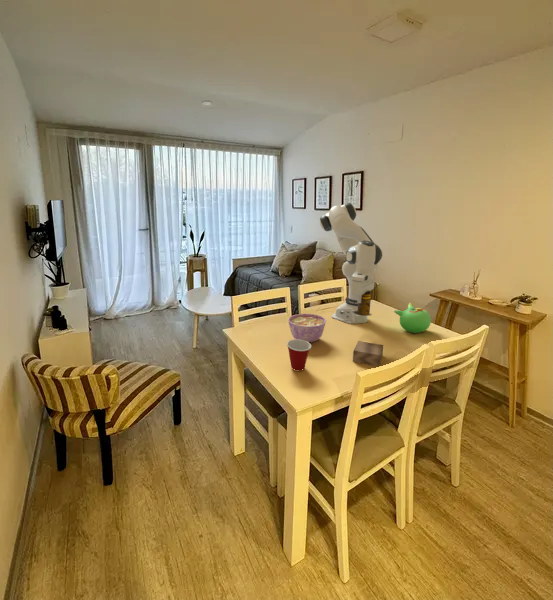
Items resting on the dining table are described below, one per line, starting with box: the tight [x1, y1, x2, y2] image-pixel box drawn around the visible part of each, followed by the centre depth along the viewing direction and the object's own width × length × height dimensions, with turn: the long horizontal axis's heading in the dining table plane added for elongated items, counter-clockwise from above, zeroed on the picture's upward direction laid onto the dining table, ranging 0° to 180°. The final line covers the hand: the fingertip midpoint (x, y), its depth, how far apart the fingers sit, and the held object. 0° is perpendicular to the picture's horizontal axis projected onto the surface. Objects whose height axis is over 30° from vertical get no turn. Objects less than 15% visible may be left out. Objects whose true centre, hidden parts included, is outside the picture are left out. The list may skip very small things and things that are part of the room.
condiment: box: [351, 290, 373, 317], centre depth 169 cm, size 7×8×12 cm
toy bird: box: [393, 302, 432, 334], centre depth 190 cm, size 18×17×15 cm
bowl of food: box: [287, 313, 327, 343], centre depth 178 cm, size 20×20×12 cm
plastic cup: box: [286, 338, 312, 370], centre depth 148 cm, size 11×11×12 cm
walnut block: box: [352, 340, 384, 367], centre depth 158 cm, size 12×12×6 cm
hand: (362, 301), depth 169 cm, fingers closed on condiment, 6 cm apart
